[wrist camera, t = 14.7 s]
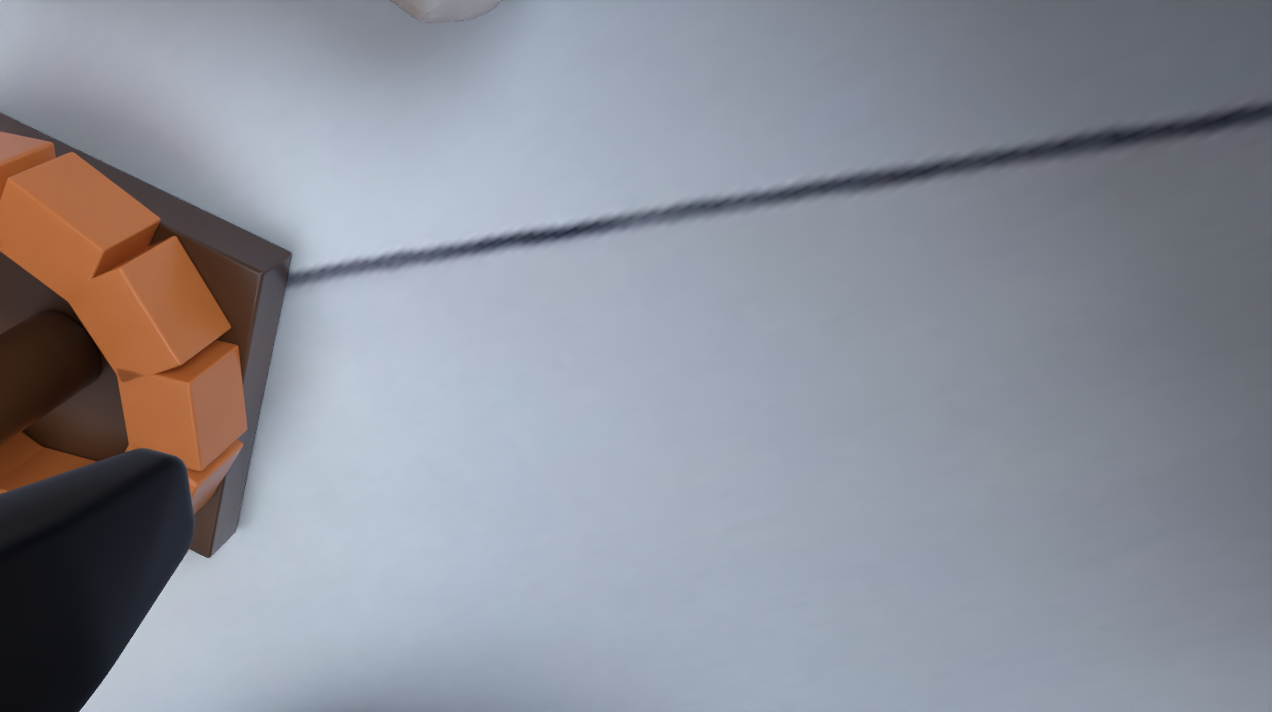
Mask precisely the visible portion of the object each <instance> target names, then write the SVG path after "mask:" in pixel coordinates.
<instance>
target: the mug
mask: <svg viewBox="0 0 1272 712" xmlns="http://www.w3.org/2000/svg"><path fill="white" fill-rule="evenodd" d="M391 1H392V2H394V3H395V4H396V5H398V6H399V7H400V8H401V9H402V10H404V11H405V12H407V13H408V14H409V15H410V16H412V17H413V18H415V19H417V20H419V21H421V22H427V23H431V22H450V21H463V20H469V19H473V18H476V17H478V16H480V15H482V14H484V13H486V12H488V11H490V10H492V9H493V8H494V7H495V6H497V5H498V4H499V3H500V2H501V1H502V0H391Z"/></svg>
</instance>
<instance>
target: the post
mask: <svg viewBox="0 0 1272 712" xmlns="http://www.w3.org/2000/svg"><path fill="white" fill-rule="evenodd" d="M0 131H1V132H6V133H11V134H16V135H20V136H25V137H30V138H35V139H40V140H44V141H49V142H52V143H53V144H54V148H55V153H56V158H57V157H59V156H62V155H64V154H66V153H69V152H74V153H76V154H77V155H78V156H80V157H81V158H82V159H83V160H85V161H86V162H87V163H89V164H90V165H91V166H93V167H94V168H95V169H97V170H98V171H99V172H101V173H102V174H103V175H104V176H106V177H107V178H108V179H110V180H111V181H112V182H114V183H115V184H116V185H118V186H119V187H120V188H121V189H123V190H124V191H125V192H127V193H128V194H129V195H131V196H132V197H133V198H135V199H136V200H137V201H139V202H140V203H141V204H142V205H144V206H145V207H146V208H148V209H149V210H150V211H152V212H153V213H154V214H156V215H157V216H158V217H159V218H160V219H161V221H160V223H159V225H158V227H157V229H156V231H155V234H154V236H153V238H152V240H151V242H150V244H149V246H150V245H152V244H155V243H157V242H160V241H162V240H164V239H167V238H169V237H172V236H176V237H177V238H178V239H179V241H180V243H181V244H182V246H183V248H184V249H185V251H186V252H187V254H188V256H189V257H190V259H191V261H192V262H193V264H194V266H195V267H196V269H197V271H198V272H199V274H200V275H201V277H202V279H203V280H204V282H205V284H206V285H207V287H208V289H209V290H210V292H211V293H212V295H213V297H214V298H215V300H216V302H217V303H218V305H219V307H220V308H221V310H222V311H223V313H224V315H225V316H226V318H227V320H228V321H229V323H230V325H231V329H230V330H228V331H227V332H226V333H224V334H223V335H222V336H220V337H219V338H218V339H216V340H219V341H223V342H227V343H232V344H236V345H238V346H239V353H240V363H241V372H242V382H243V391H244V401H245V410H246V420H247V431H245V432H244V433H243V434H242V435H241V436H240V437H239V438H238V440H240V441H241V442H242V443H243V447H242V449H241V451H240V452H239V454H238V455H237V457H236V459H235V460H234V462H233V464H232V465H231V467H230V468H229V470H228V472H227V473H226V475H225V476H224V478H223V480H222V481H221V483H220V484H219V486H218V488H217V489H216V491H215V493H214V494H213V496H212V497H211V499H210V500H209V501H208V502H207V503H206V504H205V505H204V506H202V507H201V508H200V509H199V510H198V511H197V512H196V513H195V514H194V519H195V531H194V536H193V540H192V543H191V545H190V547H189V549H190V550H192V551H194V552H196V553H198V554H200V555H202V556H204V557H206V558H210V557H211V556H212V555H213V554H214V553H215V552H216V551H217V550H218V549H219V548H220V547H221V546H222V545H223V544H224V543H225V542H226V541H227V540H228V539H229V538H230V537H231V536H232V535H233V534H234V533H235V531H236V527H237V522H238V517H239V512H240V507H241V502H242V497H243V493H244V488H245V483H246V478H247V473H248V468H249V463H250V458H251V453H252V448H253V443H254V438H255V433H256V429H257V424H258V419H259V414H260V409H261V404H262V399H263V394H264V389H265V384H266V379H267V374H268V370H269V365H270V360H271V355H272V350H273V345H274V340H275V335H276V330H277V325H278V320H279V315H280V310H281V306H282V301H283V296H284V291H285V286H286V281H287V276H288V271H289V266H290V261H291V256H292V253H291V252H289V251H287V250H285V249H283V248H281V247H279V246H277V245H275V244H273V243H271V242H269V241H266V240H264V239H262V238H260V237H258V236H256V235H254V234H252V233H250V232H248V231H246V230H244V229H241V228H239V227H237V226H235V225H233V224H231V223H229V222H227V221H225V220H223V219H221V218H219V217H216V216H214V215H212V214H210V213H208V212H206V211H204V210H202V209H200V208H198V207H196V206H194V205H191V204H189V203H187V202H185V201H183V200H181V199H179V198H177V197H175V196H173V195H171V194H168V193H166V192H164V191H162V190H160V189H158V188H156V187H154V186H152V185H150V184H148V183H146V182H143V181H141V180H139V179H137V178H135V177H133V176H131V175H129V174H127V173H125V172H123V171H121V170H118V169H116V168H114V167H112V166H110V165H108V164H106V163H104V162H102V161H100V160H98V159H96V158H93V157H91V156H89V155H87V154H85V153H83V152H81V151H79V150H77V149H75V148H73V147H71V146H68V145H66V144H64V143H62V142H60V141H58V140H56V139H54V138H52V137H50V136H48V135H45V134H43V133H41V132H39V131H37V130H35V129H33V128H31V127H29V126H27V125H25V124H23V123H20V122H18V121H16V120H14V119H12V118H10V117H8V116H6V115H4V114H2V113H0ZM20 432H23V433H25V434H26V435H28V436H29V437H30V438H32V439H33V440H34V441H36V442H37V443H39V444H40V445H41V446H43V447H46V448H50V449H54V450H57V451H61V452H65V453H69V454H72V455H76V456H80V457H83V458H87V459H91V460H94V461H100V460H103V459H106V458H109V457H112V456H115V455H118V454H121V453H124V452H125V451H126V449H127V447H128V445H129V443H128V437H127V431H126V425H125V420H124V414H123V408H122V403H121V397H120V391H119V385H118V380H117V375H116V373H115V372H114V370H113V369H112V367H111V366H110V364H109V363H108V361H107V360H106V358H105V357H104V355H103V354H102V352H101V351H100V349H99V348H98V346H97V345H96V343H95V342H94V340H93V339H92V337H91V336H90V334H89V333H88V331H87V330H86V328H85V327H84V325H83V324H82V322H81V321H80V319H79V318H78V316H77V315H76V313H75V312H74V310H73V309H72V307H71V306H70V304H69V303H68V302H67V301H66V300H65V299H63V298H62V297H61V296H59V295H58V294H57V293H55V292H54V291H53V290H51V289H50V288H49V287H47V286H46V285H45V284H43V283H42V282H41V281H39V280H38V279H37V278H35V277H34V276H33V275H31V274H30V273H29V272H27V271H26V270H24V269H23V268H22V267H20V266H19V265H18V264H16V263H15V262H14V261H12V260H11V259H10V258H8V257H7V256H6V255H4V254H3V253H2V252H0V446H1V445H3V444H4V443H6V442H7V441H9V440H10V439H12V438H13V437H14V436H16V435H17V434H19V433H20Z"/></svg>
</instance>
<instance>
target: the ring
mask: <svg viewBox="0 0 1272 712" xmlns="http://www.w3.org/2000/svg"><path fill="white" fill-rule="evenodd" d="M160 221H161V219H160V218H159V217H158V216H157V215H156V214H154V213H153V212H152V211H150V210H149V209H148V208H146V207H145V206H144V205H142V204H141V203H140V202H139V201H137V200H136V199H135V198H133V197H132V196H131V195H129V194H128V193H127V192H125V191H124V190H123V189H121V188H120V187H119V186H118V185H116V184H115V183H114V182H112V181H111V180H110V179H108V178H107V177H106V176H104V175H103V174H102V173H101V172H99V171H98V170H97V169H95V168H94V167H93V166H91V165H90V164H89V163H87V162H86V161H85V160H83V159H82V158H81V157H80V156H78V155H77V154H76V153H74V152H69V153H66V154H64V155H62V156H59V157H57V158H56V153H55V148H54V144H53V143H52V142H49V141H44V140H40V139H35V138H30V137H25V136H20V135H16V134H11V133H6V132H1V131H0V252H2V253H3V254H4V255H6V256H7V257H8V258H10V259H11V260H12V261H14V262H15V263H16V264H18V265H19V266H20V267H22V268H23V269H24V270H26V271H27V272H29V273H30V274H31V275H33V276H34V277H35V278H37V279H38V280H39V281H41V282H42V283H43V284H45V285H46V286H47V287H49V288H50V289H51V290H53V291H54V292H55V293H57V294H58V295H59V296H61V297H62V298H63V299H65V300H66V301H67V302H68V303H69V304H70V306H71V307H72V309H73V310H74V312H75V313H76V315H77V316H78V318H79V319H80V321H81V322H82V324H83V325H84V327H85V328H86V330H87V331H88V333H89V334H90V336H91V337H92V339H93V340H94V342H95V343H96V345H97V346H98V348H99V349H100V351H101V352H102V354H103V355H104V357H105V358H106V360H107V361H108V363H109V364H110V366H111V367H112V369H113V370H114V372H115V373H116V375H117V380H118V385H119V391H120V397H121V403H122V408H123V414H124V420H125V425H126V431H127V437H128V443H129V445H128V447H127V449H126V451H125V452H127V451H130V450H134V449H137V448H147V449H152V450H156V451H159V452H163V453H167V454H171V455H175V456H177V457H178V458H180V459H182V461H183V462H184V464H185V465H186V468H187V471H188V478H189V485H190V492H191V499H192V505H193V512H194V514H195V513H196V512H197V511H198V510H199V509H200V508H201V507H202V506H204V505H205V504H206V503H207V502H208V501H209V500H210V499H211V497H212V496H213V494H214V493H215V491H216V489H217V488H218V486H219V484H220V483H221V481H222V480H223V478H224V476H225V475H226V473H227V472H228V470H229V468H230V467H231V465H232V464H233V462H234V460H235V459H236V457H237V455H238V454H239V452H240V451H241V449H242V447H243V443H242V442H241V441H240V440H238V438H239V437H240V436H241V435H242V434H243V433H244V432H245V431H247V420H246V410H245V401H244V391H243V382H242V372H241V363H240V353H239V346H238V345H236V344H232V343H227V342H223V341H219V340H216V339H218V338H219V337H220V336H222V335H223V334H224V333H226V332H227V331H228V330H230V329H231V325H230V323H229V321H228V320H227V318H226V316H225V315H224V313H223V311H222V310H221V308H220V307H219V305H218V303H217V302H216V300H215V298H214V297H213V295H212V293H211V292H210V290H209V289H208V287H207V285H206V284H205V282H204V280H203V279H202V277H201V275H200V274H199V272H198V271H197V269H196V267H195V266H194V264H193V262H192V261H191V259H190V257H189V256H188V254H187V252H186V251H185V249H184V248H183V246H182V244H181V243H180V241H179V239H178V238H177V237H176V236H172V237H169V238H167V239H164V240H162V241H160V242H157V243H155V244H152V245H150V246H149V244H150V242H151V240H152V238H153V236H154V234H155V231H156V229H157V227H158V225H159V223H160ZM94 462H97V461H94V460H91V459H87V458H83V457H80V456H76V455H72V454H69V453H65V452H61V451H57V450H54V449H50V448H46V447H43V446H41V445H40V444H39V443H37V442H36V441H34V440H33V439H32V438H30V437H29V436H28V435H26V434H25V433H23V432H20V433H19V434H17V435H16V436H14V437H13V438H12V439H10V440H9V441H7V442H6V443H4V444H3V445H1V446H0V494H1V493H4V492H7V491H10V490H13V489H16V488H19V487H22V486H25V485H28V484H31V483H34V482H37V481H40V480H43V479H46V478H49V477H52V476H55V475H58V474H61V473H64V472H67V471H70V470H73V469H76V468H79V467H82V466H85V465H88V464H91V463H94Z"/></svg>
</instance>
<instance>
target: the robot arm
mask: <svg viewBox="0 0 1272 712" xmlns="http://www.w3.org/2000/svg"><path fill="white" fill-rule="evenodd" d="M194 531H195V519H194V512H193V505H192V499H191V492H190V485H189V478H188V471H187V468H186V465H185V464H184V462H183V461H182V459H180V458H178V457H177V456H175V455H171V454H167V453H163V452H159V451H156V450H152V449H147V448H137V449H134V450H130V451H127V452H124V453H121V454H118V455H115V456H112V457H109V458H106V459H103V460H100V461H97V462H94V463H91V464H88V465H85V466H82V467H79V468H76V469H73V470H70V471H67V472H64V473H61V474H58V475H55V476H52V477H49V478H46V479H43V480H40V481H37V482H34V483H31V484H28V485H25V486H22V487H19V488H16V489H13V490H10V491H7V492H4V493H1V494H0V712H79V711H80V710H81V709H82V707H83V706H84V705H85V703H86V702H87V701H88V700H89V698H90V697H91V696H92V694H93V693H94V692H95V690H96V689H97V688H98V686H99V685H100V684H101V682H102V681H103V680H104V678H105V677H106V675H107V674H108V672H109V671H110V669H111V668H112V667H113V665H114V664H115V662H116V661H117V659H118V658H119V656H120V655H121V653H122V652H123V650H124V649H125V647H126V645H127V644H128V642H129V641H130V639H131V638H132V636H133V635H134V633H135V632H136V630H137V629H138V627H139V625H140V624H141V622H142V621H143V619H144V618H145V616H146V615H147V613H148V612H149V610H150V608H151V607H152V605H153V604H154V602H155V601H156V599H157V598H158V596H159V595H160V593H161V591H162V590H163V588H164V587H165V585H166V584H167V582H168V581H169V579H170V578H171V576H172V575H173V573H174V571H175V570H176V568H177V567H178V565H179V564H180V562H181V561H182V559H183V558H184V556H185V554H186V553H187V551H188V549H189V547H190V545H191V543H192V540H193V536H194Z"/></svg>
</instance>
